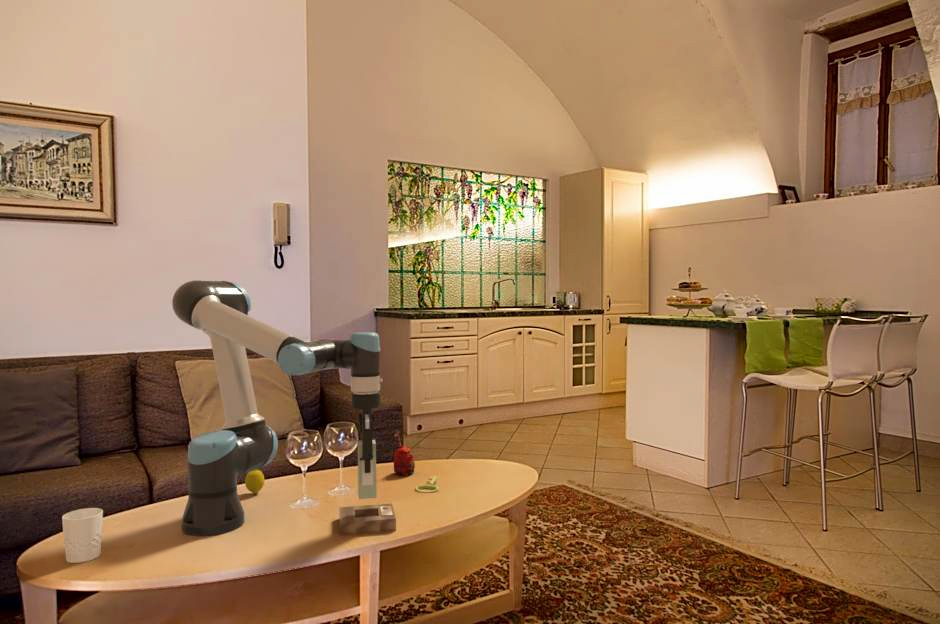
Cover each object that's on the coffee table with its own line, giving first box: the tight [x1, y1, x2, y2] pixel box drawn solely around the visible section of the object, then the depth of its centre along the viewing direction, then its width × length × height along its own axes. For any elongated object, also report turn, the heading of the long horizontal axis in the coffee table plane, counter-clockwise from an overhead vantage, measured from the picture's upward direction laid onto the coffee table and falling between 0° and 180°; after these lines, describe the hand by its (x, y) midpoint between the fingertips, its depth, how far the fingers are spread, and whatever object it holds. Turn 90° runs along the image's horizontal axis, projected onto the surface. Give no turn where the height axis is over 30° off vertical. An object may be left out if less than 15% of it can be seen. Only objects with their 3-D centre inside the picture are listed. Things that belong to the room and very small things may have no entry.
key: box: [414, 475, 440, 494], centre depth 193 cm, size 7×12×2 cm, turn 6°
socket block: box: [338, 503, 397, 536], centre depth 161 cm, size 14×12×3 cm
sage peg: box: [357, 439, 378, 500], centre depth 161 cm, size 4×4×14 cm
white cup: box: [61, 507, 104, 564], centre depth 141 cm, size 8×8×10 cm
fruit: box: [244, 469, 266, 495], centre depth 187 cm, size 6×6×8 cm
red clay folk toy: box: [393, 429, 416, 477], centre depth 208 cm, size 8×7×15 cm
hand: (367, 481), depth 161 cm, fingers closed on sage peg, 4 cm apart
